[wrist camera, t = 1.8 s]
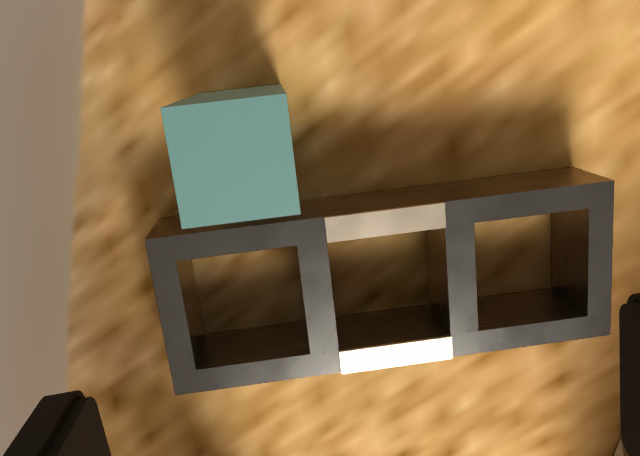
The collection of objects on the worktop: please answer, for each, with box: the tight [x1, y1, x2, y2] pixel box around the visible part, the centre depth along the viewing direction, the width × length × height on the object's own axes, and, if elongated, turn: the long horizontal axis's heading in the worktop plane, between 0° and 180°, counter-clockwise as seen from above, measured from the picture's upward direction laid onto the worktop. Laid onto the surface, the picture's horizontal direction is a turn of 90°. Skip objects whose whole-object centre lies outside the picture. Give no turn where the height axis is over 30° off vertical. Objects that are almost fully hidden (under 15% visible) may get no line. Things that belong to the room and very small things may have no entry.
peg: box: [161, 84, 301, 229], centre depth 25 cm, size 4×4×11 cm
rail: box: [145, 167, 614, 395], centre depth 30 cm, size 8×22×4 cm, turn 96°
